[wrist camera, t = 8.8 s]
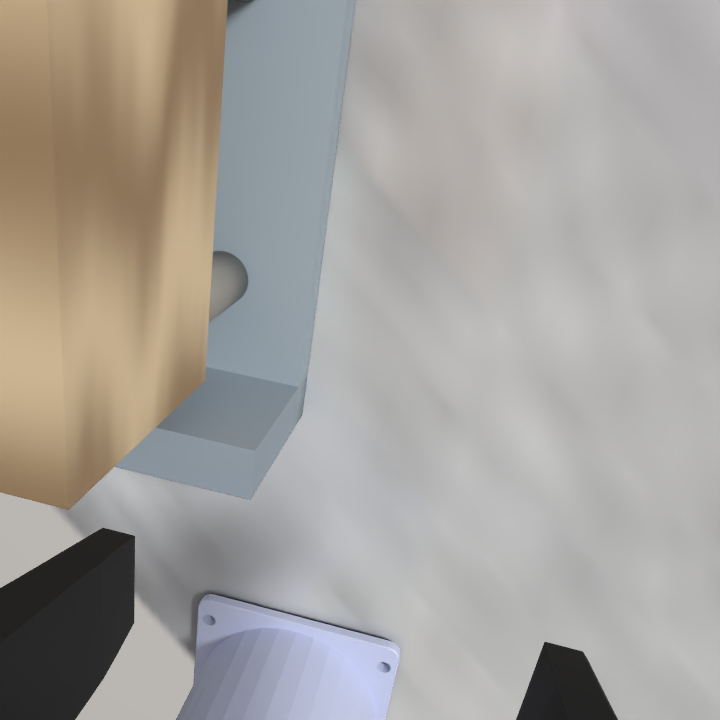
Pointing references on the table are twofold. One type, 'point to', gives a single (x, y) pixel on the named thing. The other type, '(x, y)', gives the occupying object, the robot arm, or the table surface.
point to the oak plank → (102, 229)
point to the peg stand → (261, 244)
